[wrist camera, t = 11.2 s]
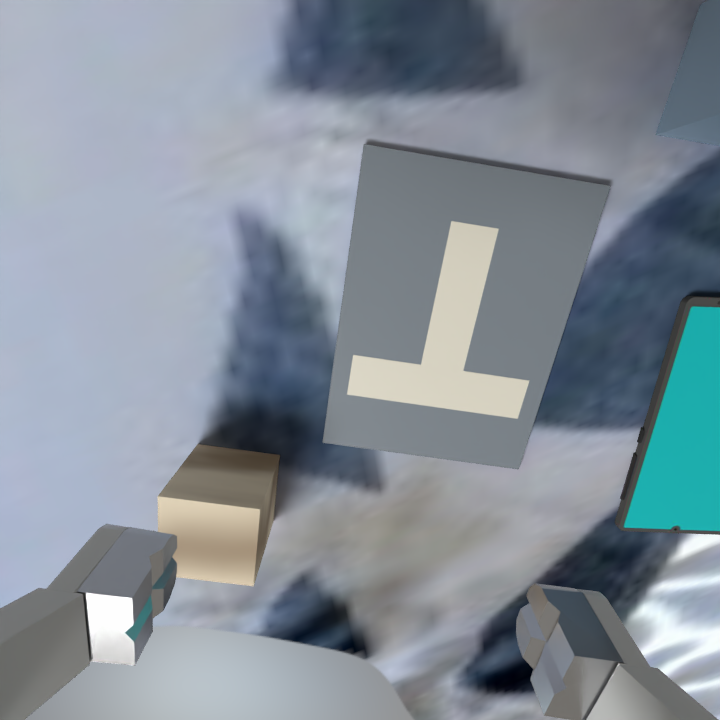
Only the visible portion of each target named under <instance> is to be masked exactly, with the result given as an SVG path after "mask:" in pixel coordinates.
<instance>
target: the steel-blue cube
mask: <svg viewBox="0 0 720 720" xmlns="http://www.w3.org/2000/svg"><path fill="white" fill-rule="evenodd" d="M656 135H659V136H665V137H671V138H677V139H682V140H688V141H694V142H699V143H705V144H711V145H717V146H720V0H707V1H706V2H704V3H703V4H701V5H700V7H699V10H698V13H697V16H696V19H695V22H694V24H693V27H692V30H691V33H690V36H689V39H688V42H687V45H686V48H685V51H684V53H683V56H682V59H681V62H680V65H679V68H678V71H677V74H676V77H675V80H674V83H673V85H672V88H671V91H670V94H669V97H668V100H667V103H666V106H665V109H664V112H663V115H662V117H661V120H660V123H659V126H658V129H657V132H656Z"/></svg>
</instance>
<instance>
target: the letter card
mask: <svg viewBox="0 0 720 720" xmlns="http://www.w3.org/2000/svg"><path fill="white" fill-rule="evenodd" d="M610 187H611V186H608V185H602V184H596V183H590V182H584V181H579V180H573V179H567V178H561V177H555V176H549V175H543V174H537V173H531V172H525V171H520V170H514V169H508V168H502V167H496V166H490V165H484V164H478V163H472V162H466V161H461V160H455V159H449V158H443V157H437V156H431V155H425V154H419V153H413V152H407V151H402V150H396V149H390V148H384V147H378V146H372V145H366V144H364V147H363V154H362V161H361V169H360V176H359V183H358V190H357V197H356V205H355V212H354V219H353V226H352V234H351V241H350V248H349V255H348V263H347V270H346V277H345V284H344V292H343V299H342V306H341V313H340V321H339V328H338V335H337V342H336V350H335V357H334V364H333V371H332V378H331V386H330V393H329V400H328V407H327V415H326V422H325V429H324V436H323V443H329V444H337V445H344V446H351V447H359V448H366V449H373V450H380V451H388V452H395V453H402V454H410V455H417V456H424V457H432V458H439V459H446V460H454V461H461V462H468V463H476V464H483V465H490V466H498V467H505V468H512V469H519V467H520V463H521V460H522V457H523V454H524V451H525V448H526V445H527V442H528V439H529V436H530V433H531V430H532V427H533V423H534V420H535V417H536V414H537V411H538V408H539V405H540V402H541V399H542V396H543V393H544V390H545V387H546V383H547V380H548V377H549V374H550V371H551V368H552V365H553V362H554V359H555V356H556V353H557V350H558V347H559V343H560V340H561V337H562V334H563V331H564V328H565V325H566V322H567V319H568V316H569V313H570V310H571V307H572V303H573V300H574V297H575V294H576V291H577V288H578V285H579V282H580V279H581V276H582V273H583V270H584V267H585V263H586V260H587V257H588V254H589V251H590V248H591V245H592V242H593V239H594V236H595V233H596V230H597V227H598V223H599V220H600V217H601V214H602V211H603V208H604V205H605V202H606V199H607V196H608V193H609V190H610Z"/></svg>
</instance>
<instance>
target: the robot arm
mask: <svg viewBox="0 0 720 720" xmlns="http://www.w3.org/2000/svg"><path fill="white" fill-rule="evenodd" d="M176 549H177V536H176V535H174V534H168V533H162V532H156V531H150V530H144V529H138V528H132V527H123V526H117V525H111V524H105V525H104V526H102V527H100V528H99V529H98V530H97V531H96V532H95V533H94V534H93V536H92V537H91V538H90V539H89V540H88V541H87V542H86V544H85V545H84V546H83V547H82V548H81V549H80V551H79V552H78V553H77V554H76V555H75V556H74V557H73V559H72V560H71V561H70V562H69V563H68V564H67V566H66V567H65V568H64V569H63V570H62V571H61V572H60V574H59V575H58V576H57V577H56V578H55V579H54V581H53V582H52V583H51V584H50V585H49V586H48V587H47V589H43V588H38V589H36V590H34V591H32V592H30V593H28V594H26V595H25V596H23V597H21V598H19V599H17V600H15V601H13V602H12V603H10V604H8V605H6V606H4V607H2V608H0V720H25V719H26V718H27V717H28V716H30V715H31V714H32V713H33V712H34V711H35V710H37V709H38V708H39V707H40V706H41V705H43V704H44V703H45V702H46V701H47V700H48V699H50V698H51V697H52V696H53V695H54V694H56V693H57V692H58V691H59V690H60V689H61V688H63V687H64V686H65V685H66V684H67V683H69V682H70V681H71V680H72V679H73V678H75V677H76V676H77V675H78V674H79V673H80V672H81V671H83V670H84V669H85V668H86V667H87V666H89V664H90V661H92V662H102V663H113V664H124V665H135V664H136V662H137V661H138V659H139V657H140V655H141V653H142V651H143V649H144V647H145V645H146V643H147V641H148V639H149V637H150V636H151V634H152V632H153V618H154V617H155V616H157V615H158V614H159V613H161V612H162V611H163V610H164V608H165V606H166V604H167V602H168V600H169V598H170V596H171V593H172V590H173V587H174V584H175V580H176V574H177V562H176V561H175V560H174V558H173V557H172V556H173V555H174V553H175V551H176ZM527 598H528V600H529V604H528V605H526V606H525V607H523V608H522V609H520V612H519V615H518V617H517V621H516V635H517V640H518V645H519V648H520V651H521V654H522V657H523V658H524V659H525V660H526V661H527V662H528V663H529V665H530V666H531V667H532V668H533V672H532V676H531V682H532V685H533V687H534V690H535V693H536V695H537V698H538V701H539V704H540V706H541V709H542V712H543V715H544V716H550V717H557V718H563V719H570V720H718V719H717V718H716V717H714V716H713V715H712V714H711V713H710V712H709V711H707V710H706V709H705V708H704V707H703V706H701V705H700V704H699V703H698V702H697V701H696V700H694V699H693V698H692V697H691V696H690V695H689V694H687V693H686V692H685V691H684V690H683V689H681V688H680V687H679V686H678V685H677V684H676V683H674V682H673V681H672V680H671V679H670V678H668V677H667V676H666V675H665V674H664V673H663V672H661V671H660V670H659V669H658V668H653V667H650V666H649V664H648V662H647V661H646V659H645V658H644V656H643V655H642V653H641V652H640V650H639V648H638V647H637V645H636V644H635V642H634V641H633V639H632V638H631V636H630V634H629V633H628V631H627V630H626V628H625V627H624V625H623V624H622V622H621V620H620V619H619V617H618V616H617V614H616V613H615V611H614V610H613V608H612V606H611V605H610V603H609V602H608V600H607V599H606V597H605V596H604V595H602V594H601V593H600V592H596V591H588V590H580V589H574V588H566V587H558V586H550V585H542V584H534V585H532V586H531V587H530V588H529V591H528V593H527Z"/></svg>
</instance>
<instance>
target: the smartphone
mask: <svg viewBox="0 0 720 720" xmlns="http://www.w3.org/2000/svg"><path fill="white" fill-rule="evenodd" d="M637 442H638V446H637V449H636V453H634V454H633V457H632V461H631V464H630V467H629V471H628V474H627V477H626V481H625V484H624V487H623V491H622V494H621V498H620V499H621V503H620V506H619V509H618V513H617V516H616V519H615V524H616V525H617V527H618V528H619V529H620V530H622V531H637V532H664V533H692V534H719V535H720V297H705V296H686V297H685V298H683V299H682V301H681V302H680V306H679V309H678V312H677V316H676V319H675V322H674V326H673V329H672V332H671V336H670V339H669V342H668V346H667V349H666V352H665V356H664V359H663V362H662V366H661V369H660V372H659V376H658V379H657V382H656V386H655V389H654V392H653V396H652V399H651V402H650V406H649V409H648V413H647V416H646V419H645V423H644V426H643V428H641V430H640V434H639V437H638V440H637Z"/></svg>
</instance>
